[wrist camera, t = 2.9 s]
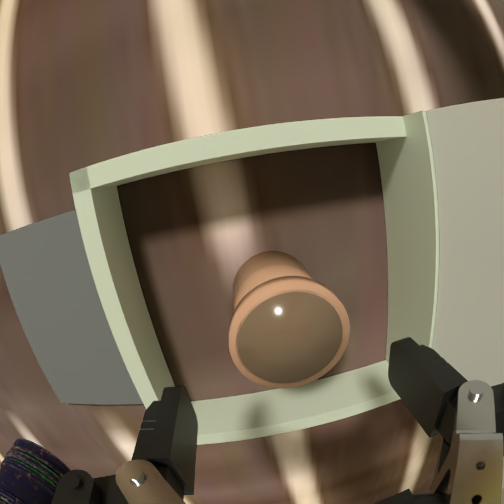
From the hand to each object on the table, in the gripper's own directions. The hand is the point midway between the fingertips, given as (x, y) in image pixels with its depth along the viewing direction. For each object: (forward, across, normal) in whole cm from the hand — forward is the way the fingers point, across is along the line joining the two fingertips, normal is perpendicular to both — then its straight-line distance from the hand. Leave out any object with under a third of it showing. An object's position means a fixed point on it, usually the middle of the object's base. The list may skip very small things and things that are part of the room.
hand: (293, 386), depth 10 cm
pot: (+10, -1, 0) cm, 10 cm away
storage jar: (+11, +33, +21) cm, 41 cm away
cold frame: (+10, -2, 0) cm, 10 cm away
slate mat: (+10, +15, 0) cm, 19 cm away
